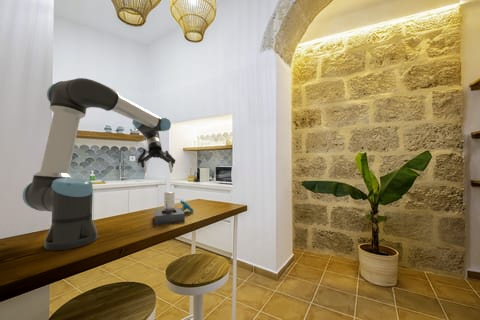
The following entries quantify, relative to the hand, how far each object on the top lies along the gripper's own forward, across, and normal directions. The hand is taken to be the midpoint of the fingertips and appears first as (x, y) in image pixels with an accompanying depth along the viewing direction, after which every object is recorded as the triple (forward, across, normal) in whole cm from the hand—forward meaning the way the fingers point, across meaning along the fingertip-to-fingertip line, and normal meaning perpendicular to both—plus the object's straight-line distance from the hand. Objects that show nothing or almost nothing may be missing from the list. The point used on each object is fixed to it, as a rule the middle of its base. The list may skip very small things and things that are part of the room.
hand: (158, 171), depth 112 cm
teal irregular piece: (+16, -17, -19) cm, 30 cm away
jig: (+24, -4, -12) cm, 27 cm away
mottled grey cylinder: (+24, -4, -12) cm, 27 cm away
